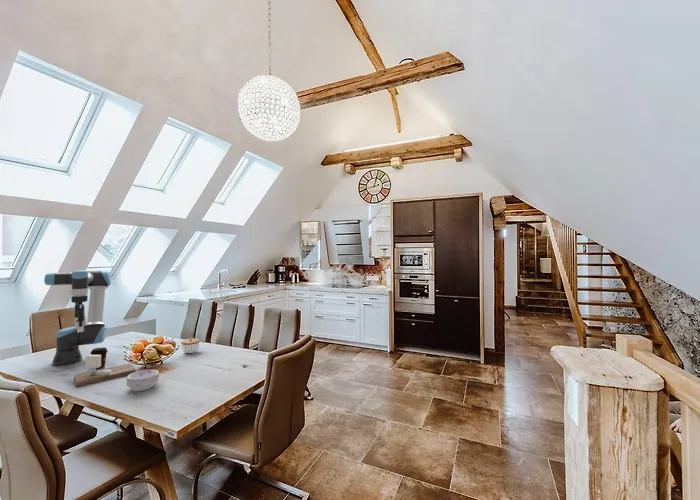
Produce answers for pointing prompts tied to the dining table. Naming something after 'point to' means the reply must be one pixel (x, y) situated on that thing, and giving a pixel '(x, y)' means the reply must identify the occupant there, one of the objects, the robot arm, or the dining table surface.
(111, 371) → the board
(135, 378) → the white floral bowl
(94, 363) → the white piece
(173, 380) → the dining table surface
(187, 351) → the lidded bowl
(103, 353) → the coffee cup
